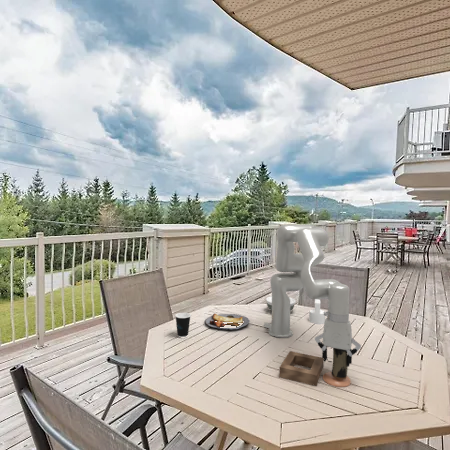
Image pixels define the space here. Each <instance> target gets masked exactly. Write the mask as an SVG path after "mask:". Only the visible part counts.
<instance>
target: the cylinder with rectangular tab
mask: <svg viewBox="0 0 450 450" xmlns="http://www.w3.org/2000/svg"><path fill="white" fill-rule="evenodd" d="M324 312H326V311H325V310H322V309H321V299H314V308H313V309H309V315H308V316H309V317H308V322H309V321H310V322H309V323H311V324H313V323H314V325H324V323H325V319H326V316H325V315H324Z"/></svg>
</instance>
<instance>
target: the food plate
mask: <svg viewBox="0 0 450 450" xmlns="http://www.w3.org/2000/svg"><path fill="white" fill-rule="evenodd" d="M215 321H217V322H215ZM243 321H244V323H243ZM204 322H205V325H207V326H208V327H210V328H216V329H218V330H221V329H223V330H238V329H241V328H243V327H245V326H247V325H248V324H249V323H250V322H251V320H250V318H248V317H247V316H246V315H245V316H244V315H241V314H237V313H219V314H217V313H213V314H212V315H211V316H209V317H206V318H205V320H204ZM223 322H233V323H227V324H224V323H223ZM238 323H243V324H242V325H241V326H239V325H240V324H238ZM225 325H231V326H236V328H220V327H224V326H225ZM237 326H239V327H237Z"/></svg>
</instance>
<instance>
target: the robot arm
mask: <svg viewBox="0 0 450 450" xmlns="http://www.w3.org/2000/svg"><path fill="white" fill-rule="evenodd" d="M329 238H330V237H329V234H328V232H327V231H326V229H324V228H322V227H320V226H316V225H312V224H283V225H280V226H279V227H278V228H277V231H276V239H277V251H276V256H275V257H276V258H275V259H276V260H275V268H276V271H278V272H279V273H275V274H273V275H272V276H271V277H270V283H269V284H270V288H271V296H272V311H271V322H270V323H268V322H264V323H263V327H264V328H267V329H268V332H269V333H268V335H269V336H272V337H274V336H275V338H279V339H280V338H283V339H285V338H290V337H292V336H293V335H294V334H293V333H294V332H293V330H291V311H290V298H291V297H290V296H289V295H288V292H297V291H298V292H299V291H302V289H304V292H305V293H306V295H307V297H308V298H310V299H312V300H315V299H318V300H324V299H325V300H326V299H327V311H325V312H324V315H325V323H324V324H323V331H322V332H323V333H321V334H319V335H317V336H315V337H314V341H315V342H316V343H317V345H318V347H319V348H320V349H321V352H322V354H321V355H322V358H324V363H325V362H326V361H328V360H327V359H328V356H327V357H326V348H327V349H328V348H331V349H333V348H336V349H341V350H346V351H347V353H348V356H347V366H348V367H350V365H352V361H353V360H352V359H353V356H354V355H355V354H357V353H358V352H359V350H360V349H361V348H362V345H361V344H360V342H358V341H356V340H355V339H354V338H353V332H352V331H353V329H352V323H351V321H350V317H349V315H350V291H351V290H350V287H349V286H348V285H347V284H344V283H341V282H340V281H338V280H337V279H333V278H329V279H327V278H326V279H323V278H322V279H314V277H313V275H312V270H311V269H312V268H313V267H315V266H317V265H319V264H320V263H322V262H323V261H324V260H325V254H324V252H323V249H322V247H325V246H326V245H328V243H329V241H330V240H329ZM295 243H297V245H298V247H299V250H300V253H297V252H296V253H295V250H296V246H295ZM289 297H290V298H289ZM321 339H322V341H321ZM352 345H354V346H355V347H354V348H353V349H352Z"/></svg>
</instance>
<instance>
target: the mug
mask: <svg viewBox="0 0 450 450" xmlns="http://www.w3.org/2000/svg"><path fill="white" fill-rule="evenodd" d="M332 351H333V352H332V353H333V354H332V356H333V357H332V358H333V359H332V360H328V347H327V348H326V357H327V360H326V361H327V362H328V363H332V368H331V372H332V373H331V375H332V376H333V377H334V378H337V379H346V378H347V376H348V366H347V356H348V353H347V351H346V350H341V349H336V348H332Z"/></svg>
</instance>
